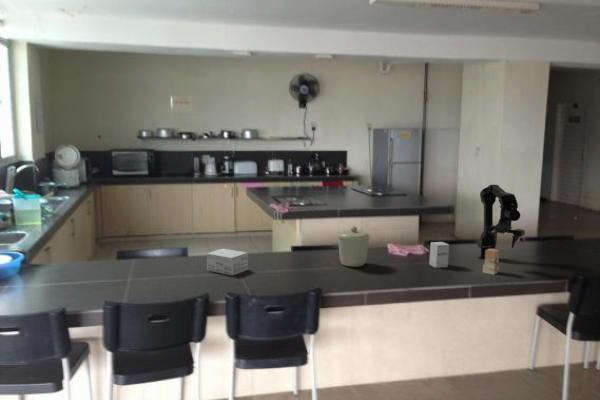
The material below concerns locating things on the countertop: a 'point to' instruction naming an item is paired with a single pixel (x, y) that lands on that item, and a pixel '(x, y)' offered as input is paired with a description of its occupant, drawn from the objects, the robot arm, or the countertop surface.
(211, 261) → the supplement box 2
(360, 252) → the canister
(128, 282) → the countertop surface
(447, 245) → the supplement box
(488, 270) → the tower base
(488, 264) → the tower mid
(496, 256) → the terracotta block
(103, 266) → the countertop surface
